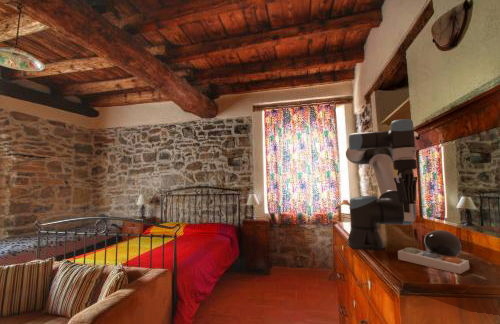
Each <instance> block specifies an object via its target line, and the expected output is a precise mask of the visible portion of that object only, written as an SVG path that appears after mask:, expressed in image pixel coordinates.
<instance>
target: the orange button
mask: <svg viewBox="0 0 500 324" xmlns="http://www.w3.org/2000/svg"><path fill="white" fill-rule="evenodd" d="M460 259H461V258H459V257H458V256H456V257H453V256H444V261H447V262H452V263H456V264H459V263H460Z"/></svg>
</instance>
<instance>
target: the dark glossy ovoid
mask: <svg viewBox="0 0 500 324" xmlns="http://www.w3.org/2000/svg"><path fill="white" fill-rule="evenodd" d="M423 243H424V244H423V245H424V246H425V247H426V248H427V250H428V251H429V252H435V253H437V254H441V255H445V256H453V257H458V256H459V255H460V253H461V252H462V243H461V241H460V239H459V237H457V236H456V234H454V233H452V232H451V231H448V230H445V229H444V230H443V229H437V230H436V229H435V230H432V231H430V232H428V233H427V234H426V235H425V236H424V239H423Z"/></svg>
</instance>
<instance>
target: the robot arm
mask: <svg viewBox="0 0 500 324" xmlns="http://www.w3.org/2000/svg"><path fill="white" fill-rule="evenodd" d="M416 152H418V151H417V149H416V140H415V126H414V122H413V120H412V119H410V118H401V119H396V120H393V121H391V123H390V129H389V130H381V131H380V130H379V131H368V132H355V133H350V134H349V136H348V148H347V149H346V150H345V157H346V159H347V160H348V161H349V162H350V163H352V164H356V165H362V166H364V165H369V167H370V168H371V169H373V172H374V176H375V179H376V182H377V183H376V184H377V186H378V189H379V193H380V195H379V197H377V196H376V195H373V194H372V195H371V194H370V195H360V196H355V197H351V198H350V200H349V216H350V231H349V235H348V239H347V245H348V247H350V248H352V249H355V250H364V251H365V250H366V251H379V250H383V249H385V244H384V243H385V242H384V240H383V238H382V235H381V233H380V231H379V230H380V229H379V225H401V226H407V225H410V226H411V225H413V224H414V223H415V220H416V216H417V209H416V208H417V206H416V204H417V202H416V201H417V181H418V177H417V176H414V170H417V168H418V163H417V160H416V158H417V153H416ZM392 164H393V168H392ZM393 169H394V170H395V171H397V174H396V175H397V176H395V173H394V170H393Z"/></svg>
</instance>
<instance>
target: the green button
mask: <svg viewBox="0 0 500 324" xmlns="http://www.w3.org/2000/svg"><path fill="white" fill-rule="evenodd" d="M404 249H405V252H409V253H414V254H417V253H418V250H419V249H418V248H416V247H410V246H409V247H404Z"/></svg>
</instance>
